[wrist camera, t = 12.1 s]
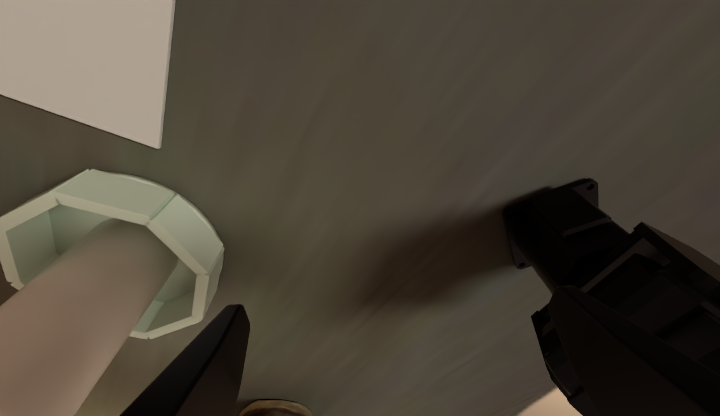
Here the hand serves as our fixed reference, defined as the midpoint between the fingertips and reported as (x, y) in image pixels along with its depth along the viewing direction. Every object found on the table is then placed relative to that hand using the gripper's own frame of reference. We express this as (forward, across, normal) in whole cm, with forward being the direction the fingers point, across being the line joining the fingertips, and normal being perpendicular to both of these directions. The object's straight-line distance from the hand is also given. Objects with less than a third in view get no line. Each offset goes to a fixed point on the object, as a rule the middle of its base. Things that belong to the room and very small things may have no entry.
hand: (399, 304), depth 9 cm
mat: (+13, +16, -7) cm, 22 cm away
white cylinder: (+12, +18, +7) cm, 23 cm away
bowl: (+13, +18, +7) cm, 24 cm away
